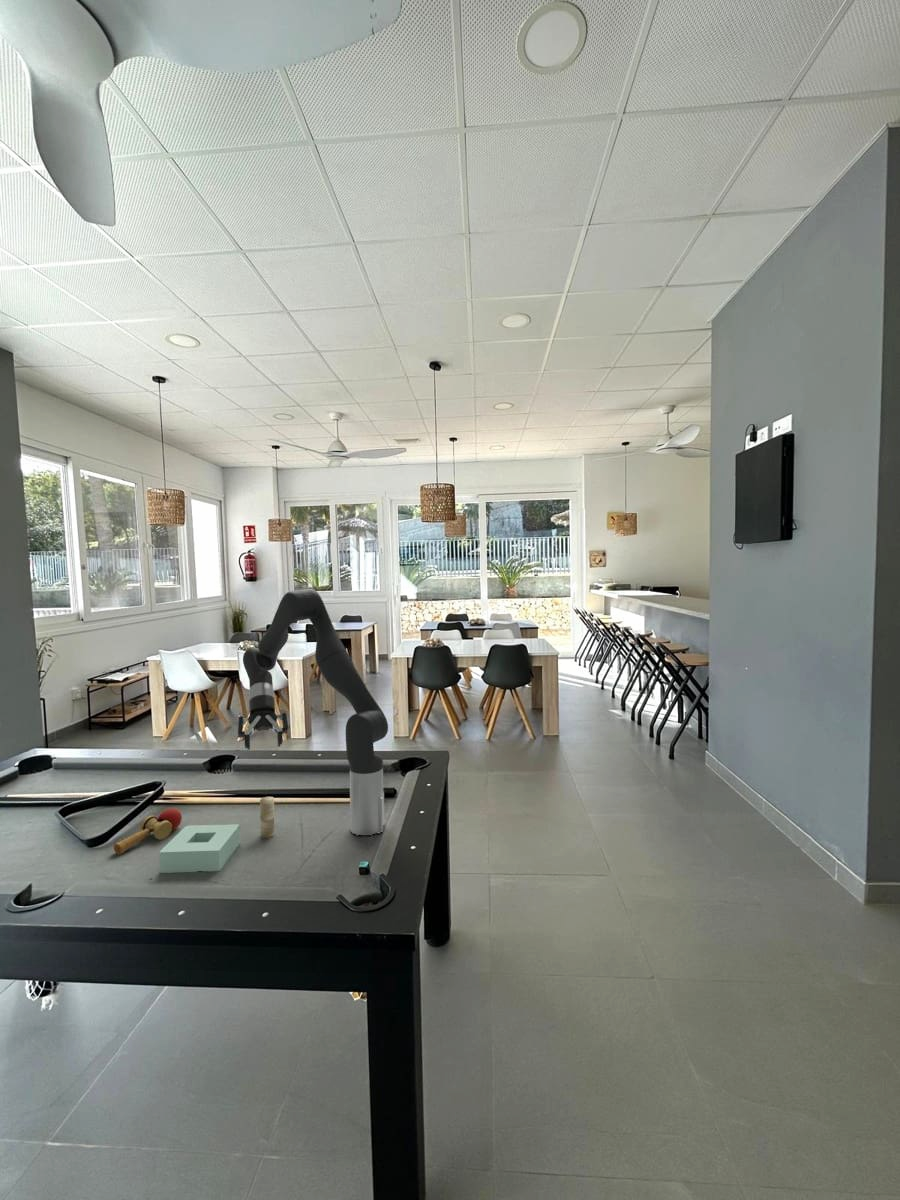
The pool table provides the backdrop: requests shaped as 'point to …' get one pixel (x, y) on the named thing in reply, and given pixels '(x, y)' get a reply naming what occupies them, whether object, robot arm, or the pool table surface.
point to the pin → (267, 817)
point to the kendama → (152, 829)
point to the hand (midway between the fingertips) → (264, 746)
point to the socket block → (199, 848)
